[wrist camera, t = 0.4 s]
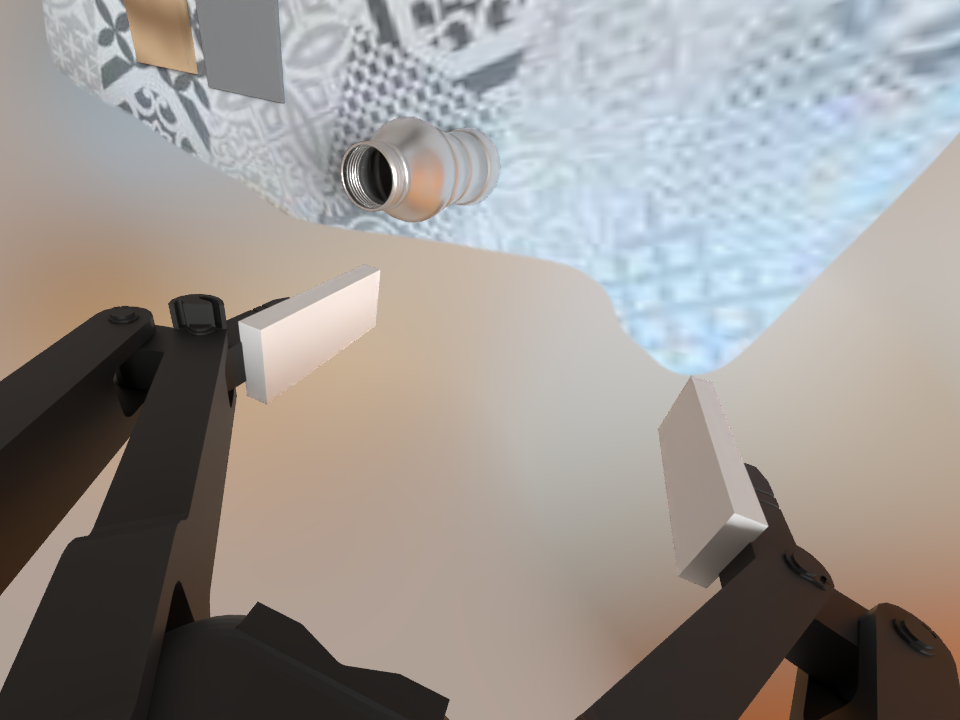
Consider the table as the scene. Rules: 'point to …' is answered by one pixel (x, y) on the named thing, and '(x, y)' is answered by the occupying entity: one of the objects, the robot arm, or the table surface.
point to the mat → (242, 46)
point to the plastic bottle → (419, 169)
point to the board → (162, 33)
